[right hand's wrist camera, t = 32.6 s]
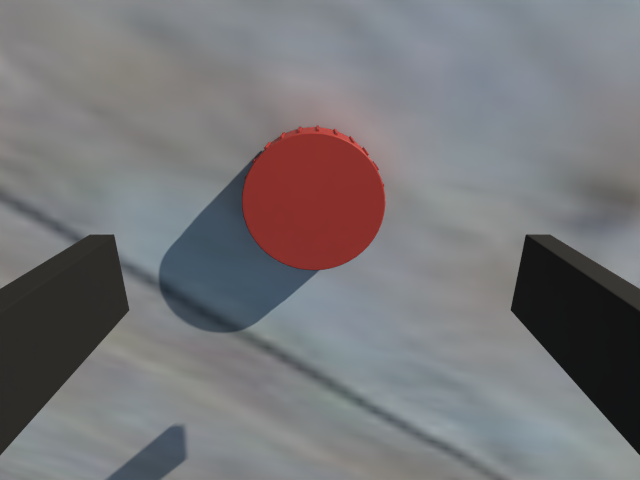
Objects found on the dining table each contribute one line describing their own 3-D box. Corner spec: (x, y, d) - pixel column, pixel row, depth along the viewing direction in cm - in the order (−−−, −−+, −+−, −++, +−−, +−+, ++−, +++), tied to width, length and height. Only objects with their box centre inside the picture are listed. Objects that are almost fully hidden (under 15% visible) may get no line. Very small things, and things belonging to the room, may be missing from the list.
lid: (397, 145, 17) (407, 152, 15) (358, 265, 19) (363, 284, 17) (262, 109, 16) (255, 112, 15) (237, 238, 19) (229, 255, 17)
